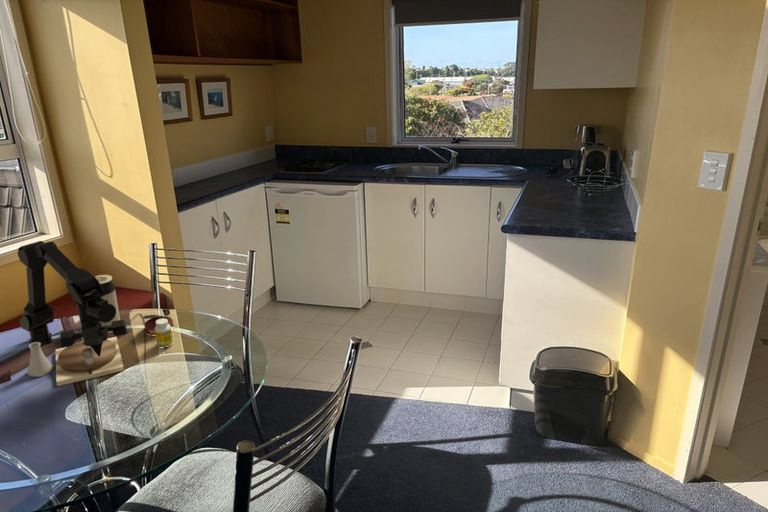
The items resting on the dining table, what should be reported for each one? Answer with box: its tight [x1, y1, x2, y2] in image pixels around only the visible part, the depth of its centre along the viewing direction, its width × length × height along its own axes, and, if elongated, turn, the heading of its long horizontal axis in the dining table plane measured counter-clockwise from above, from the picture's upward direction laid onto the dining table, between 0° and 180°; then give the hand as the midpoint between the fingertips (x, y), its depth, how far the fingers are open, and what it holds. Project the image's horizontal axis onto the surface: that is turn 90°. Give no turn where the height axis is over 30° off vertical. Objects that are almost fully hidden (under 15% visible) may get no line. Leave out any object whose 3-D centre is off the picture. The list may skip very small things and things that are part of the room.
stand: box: [55, 336, 125, 387], centre depth 184 cm, size 21×19×2 cm
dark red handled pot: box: [142, 314, 174, 335], centre depth 204 cm, size 11×10×10 cm
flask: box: [26, 342, 55, 378], centre depth 177 cm, size 7×7×10 cm
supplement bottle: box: [155, 318, 174, 348], centre depth 194 cm, size 5×5×10 cm
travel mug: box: [90, 274, 121, 327], centre depth 205 cm, size 8×8×18 cm
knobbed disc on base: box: [58, 340, 116, 372], centre depth 182 cm, size 17×17×7 cm
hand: (99, 355), depth 178 cm, fingers closed
